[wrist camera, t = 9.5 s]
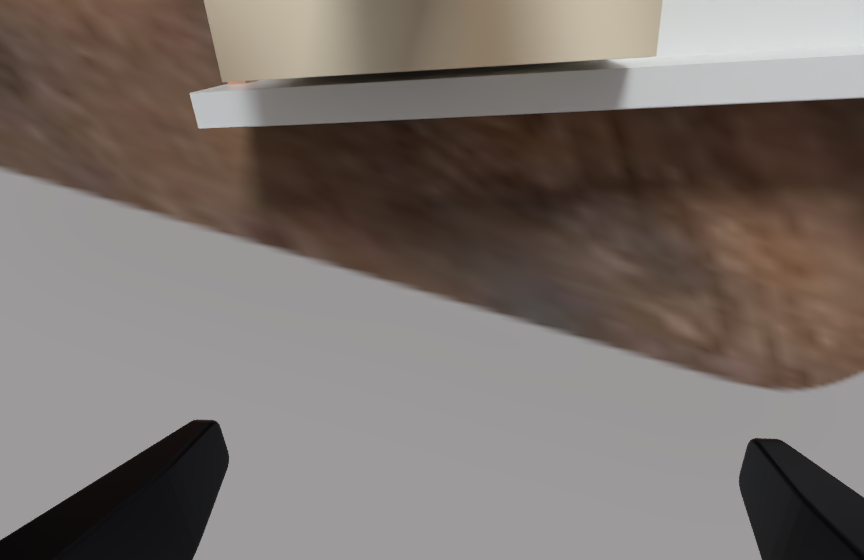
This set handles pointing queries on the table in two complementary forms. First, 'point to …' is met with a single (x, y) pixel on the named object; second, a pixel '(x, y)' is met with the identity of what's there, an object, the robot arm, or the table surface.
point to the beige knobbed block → (422, 34)
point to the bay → (592, 73)
